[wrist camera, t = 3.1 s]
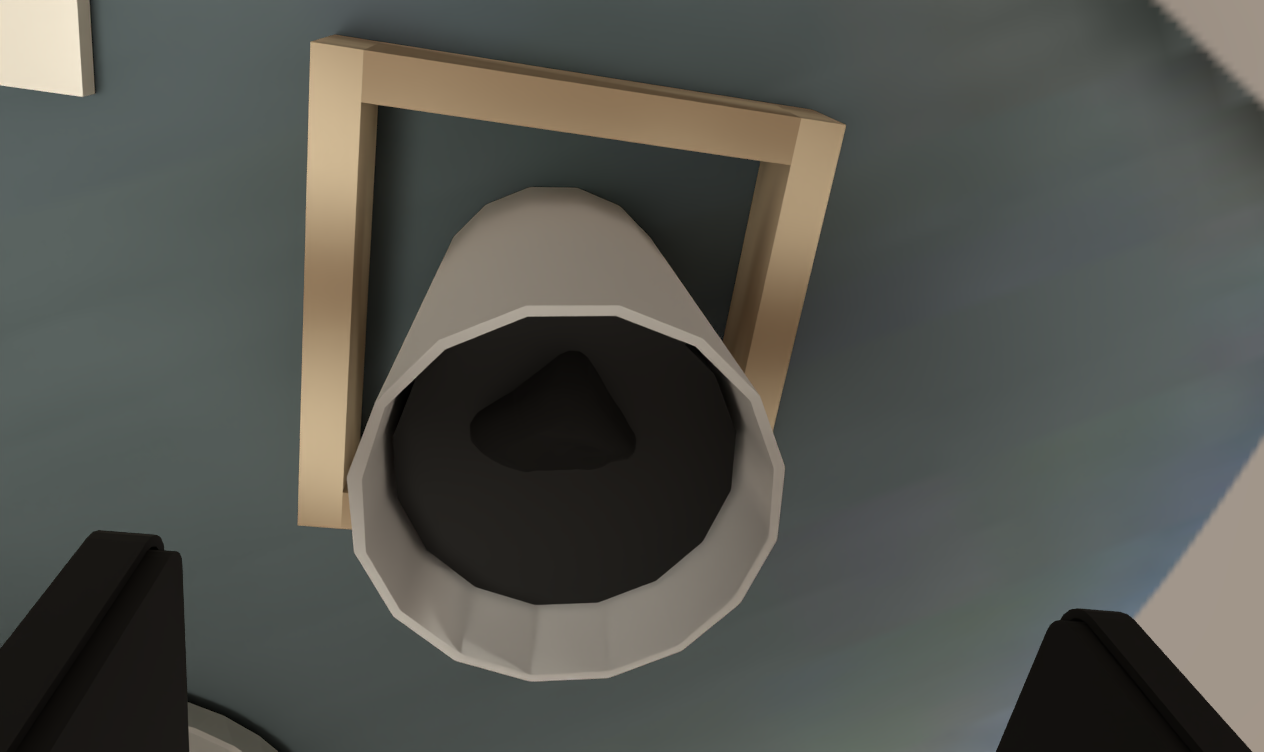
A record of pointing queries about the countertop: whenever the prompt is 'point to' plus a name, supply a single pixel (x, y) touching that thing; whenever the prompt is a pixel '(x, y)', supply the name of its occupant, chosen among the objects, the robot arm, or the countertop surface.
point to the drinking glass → (563, 452)
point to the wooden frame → (547, 99)
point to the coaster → (47, 46)
